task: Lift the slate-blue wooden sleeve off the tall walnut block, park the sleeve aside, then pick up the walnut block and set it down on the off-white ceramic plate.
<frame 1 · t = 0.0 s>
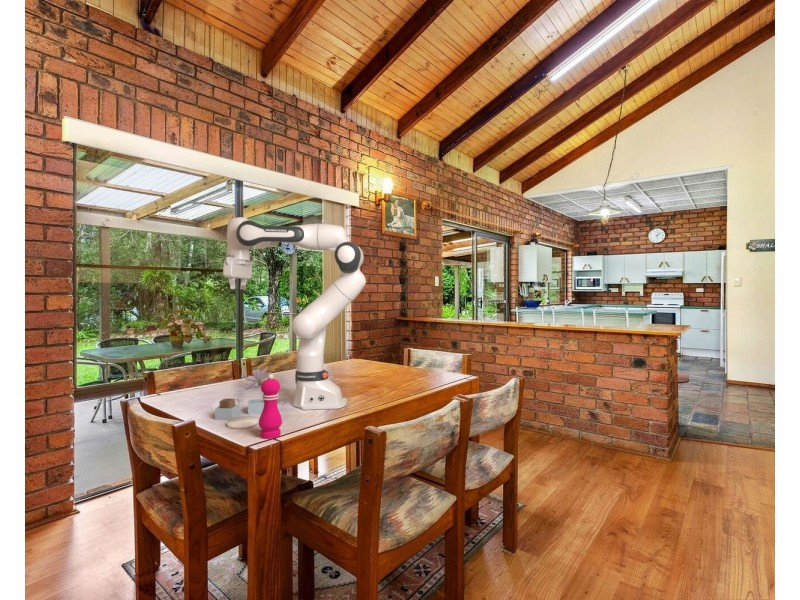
hand: (238, 289, 172), 48 cm above the table, fingers open, 8 cm apart
pepper mill: (270, 436, 132), on the table
plate: (242, 423, 144), on the table
water lily: (257, 388, 201), on the table
sleeve b: (256, 411, 160), on the table
sleeve a: (227, 417, 152), on the table
walnut block: (227, 408, 152), in the sleeve a
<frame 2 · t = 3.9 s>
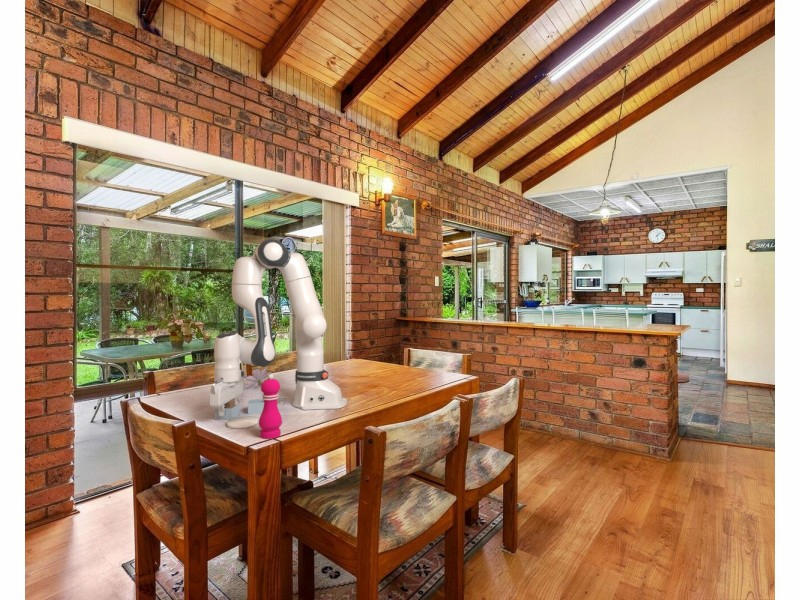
hand: (227, 412, 152), 2 cm above the table, fingers closed on sleeve a, 6 cm apart
sleeve a: (227, 417, 152), on the table, touching gripper
everything else where it was.
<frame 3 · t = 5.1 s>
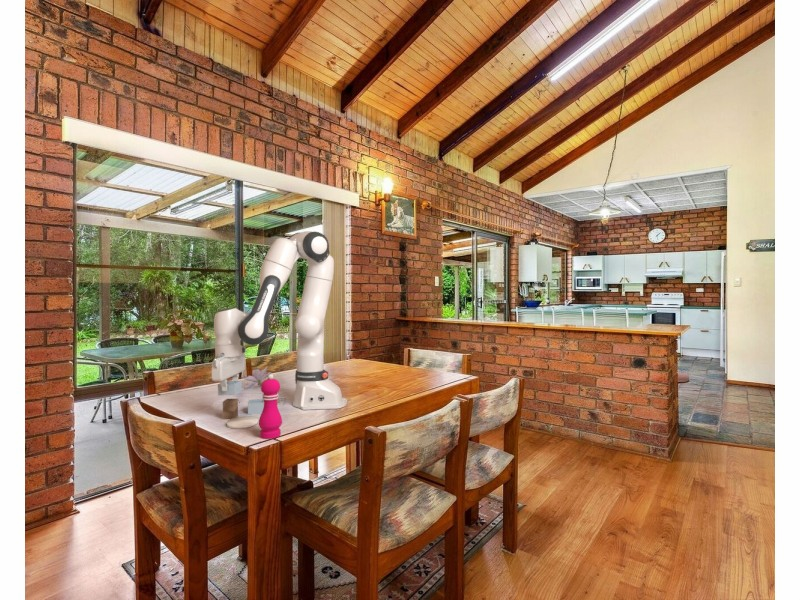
hand: (230, 388, 153), 11 cm above the table, fingers closed on sleeve a, 6 cm apart
sleeve a: (230, 393, 153), point 9 cm above the table, touching gripper
walnut block: (230, 408, 152), on the table
everything else where it was.
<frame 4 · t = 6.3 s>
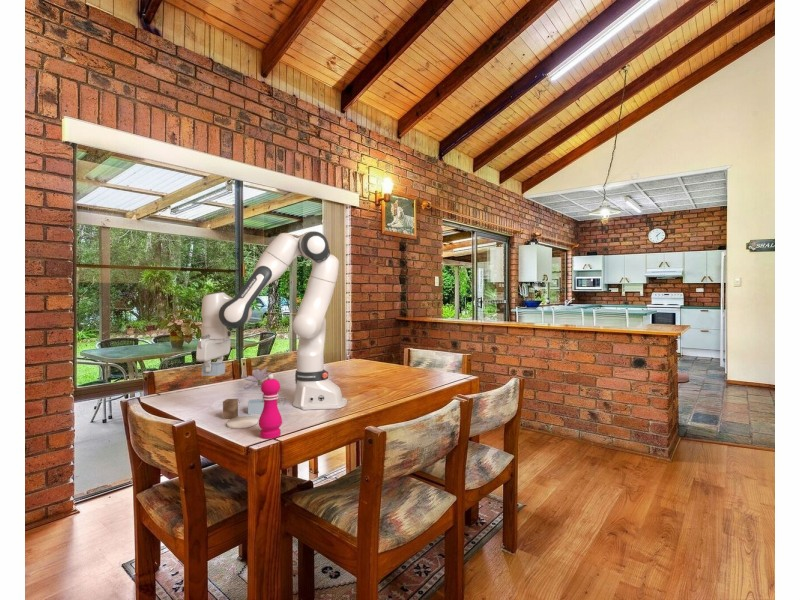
hand: (213, 369, 158), 17 cm above the table, fingers closed on sleeve a, 6 cm apart
sleeve a: (213, 374, 158), point 15 cm above the table, touching gripper
everything else where it was.
when the fingers open (2 cm above the table, at t = 9.0 s): sleeve a stays where it is, on the table.
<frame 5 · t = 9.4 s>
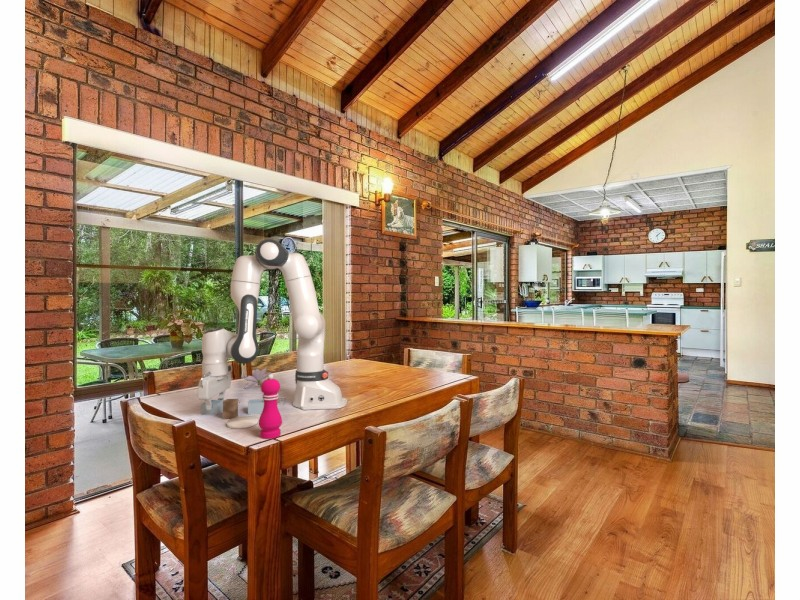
hand: (215, 405, 158), 3 cm above the table, fingers open, 8 cm apart
sleeve a: (213, 412, 159), on the table
everything else where it was.
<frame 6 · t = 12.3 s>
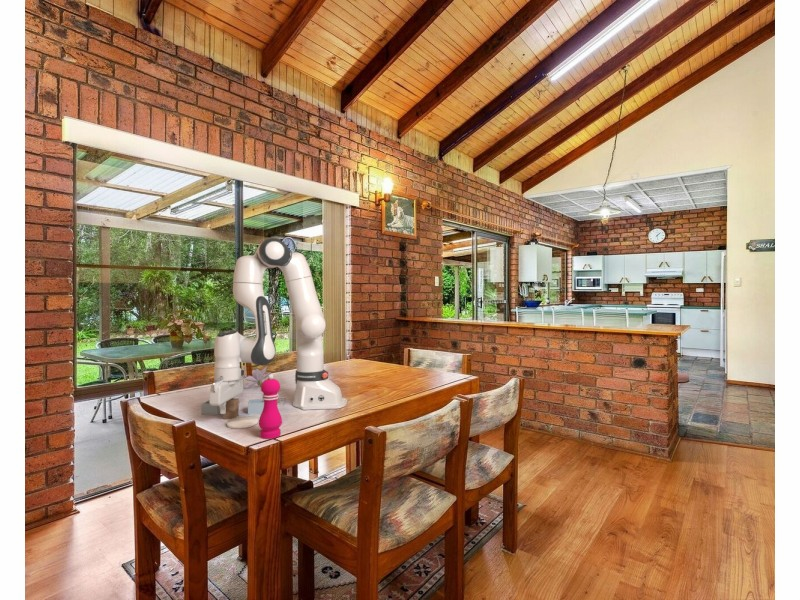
hand: (227, 411, 152), 2 cm above the table, fingers closed on walnut block, 4 cm apart
walnut block: (231, 408, 152), on the table, touching gripper
everything else where it was.
when the fingers open (4 cm above the table, at t = 17.2 s): walnut block drops 1 cm, resting on plate.
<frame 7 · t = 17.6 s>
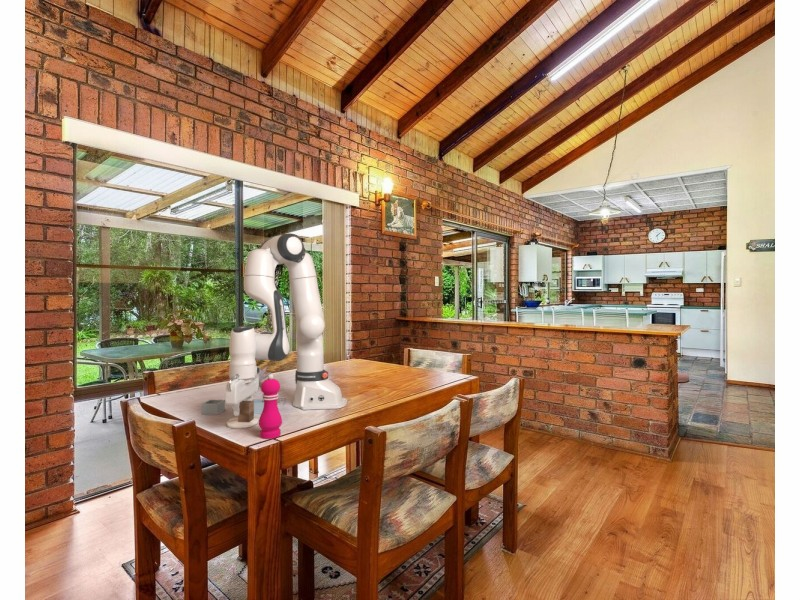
hand: (242, 411, 144), 4 cm above the table, fingers open, 8 cm apart
walnut block: (246, 411, 144), on the plate, point 4 cm above the table
everything else where it was.
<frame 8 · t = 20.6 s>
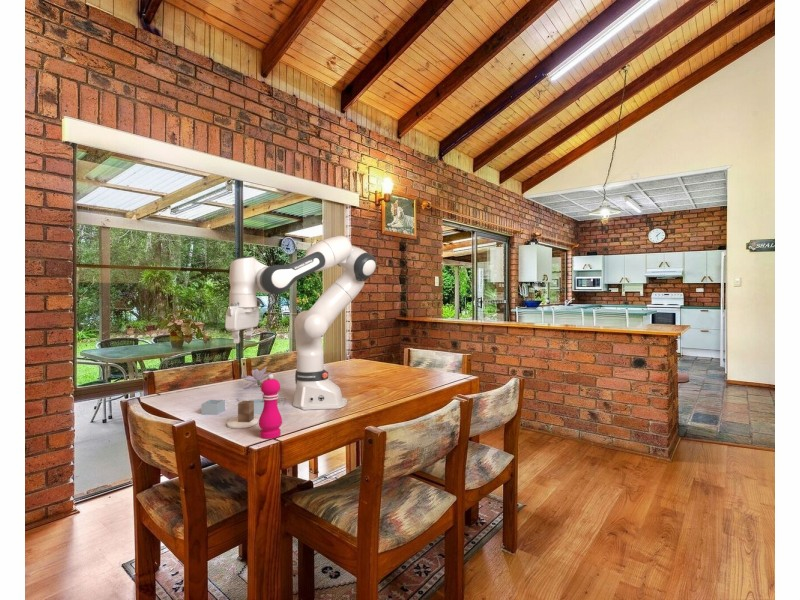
hand: (242, 341, 144), 29 cm above the table, fingers open, 8 cm apart
nothing on the table moved.
at the end: walnut block inside the target area on the plate (1.2 cm from its centre), point 4.4 cm above the plate's base; walnut block tilted 0°; sleeve a moved 10.3 cm from its start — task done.
